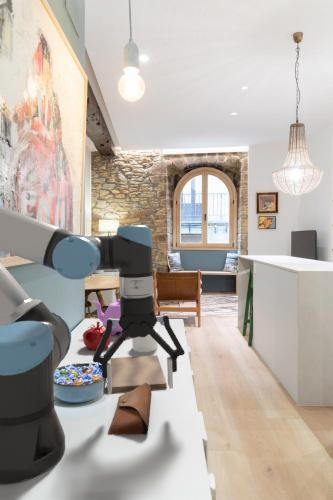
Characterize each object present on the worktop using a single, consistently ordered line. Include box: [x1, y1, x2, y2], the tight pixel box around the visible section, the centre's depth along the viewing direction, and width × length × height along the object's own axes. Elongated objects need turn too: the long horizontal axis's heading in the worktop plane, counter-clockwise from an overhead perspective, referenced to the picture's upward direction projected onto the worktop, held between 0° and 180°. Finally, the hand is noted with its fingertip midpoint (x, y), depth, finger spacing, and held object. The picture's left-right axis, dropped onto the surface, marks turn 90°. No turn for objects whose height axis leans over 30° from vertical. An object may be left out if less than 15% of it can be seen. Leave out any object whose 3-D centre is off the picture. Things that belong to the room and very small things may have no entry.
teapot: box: [92, 298, 123, 336], centre depth 147 cm, size 22×16×14 cm
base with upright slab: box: [131, 328, 159, 353], centre depth 126 cm, size 9×9×12 cm
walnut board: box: [104, 354, 168, 393], centre depth 102 cm, size 16×22×1 cm
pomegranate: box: [82, 321, 112, 351], centre depth 127 cm, size 10×10×9 cm
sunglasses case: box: [107, 383, 152, 436], centre depth 80 cm, size 18×7×7 cm, turn 1°
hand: (140, 388), depth 79 cm, fingers open, 13 cm apart
